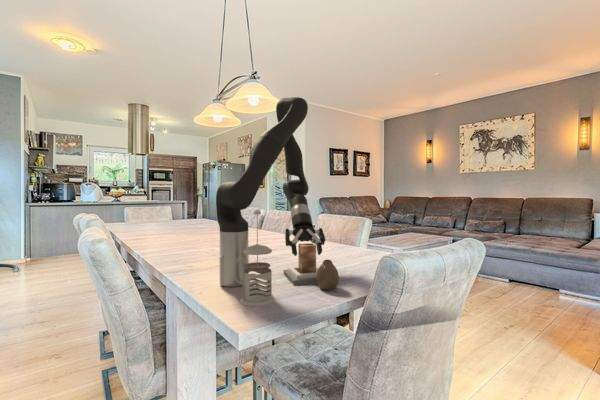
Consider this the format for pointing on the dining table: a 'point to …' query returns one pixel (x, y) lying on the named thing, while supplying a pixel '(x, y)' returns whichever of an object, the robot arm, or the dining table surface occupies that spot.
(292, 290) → the dining table surface
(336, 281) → the vase
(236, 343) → the dining table surface
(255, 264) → the french press
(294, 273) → the pocket board
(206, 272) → the dining table surface
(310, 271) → the copper rectangular block
